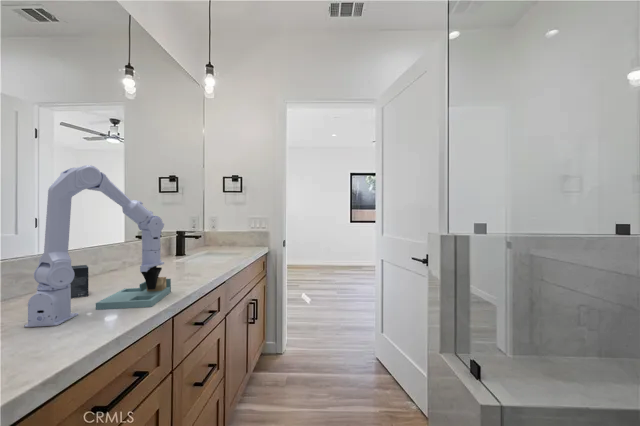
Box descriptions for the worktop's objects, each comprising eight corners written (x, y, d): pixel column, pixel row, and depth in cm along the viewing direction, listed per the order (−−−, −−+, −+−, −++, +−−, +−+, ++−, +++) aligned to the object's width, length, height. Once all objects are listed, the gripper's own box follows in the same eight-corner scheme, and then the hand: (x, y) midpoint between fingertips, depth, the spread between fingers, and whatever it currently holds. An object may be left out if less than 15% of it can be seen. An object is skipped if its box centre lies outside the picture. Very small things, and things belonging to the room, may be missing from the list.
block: (161, 290, 115) (161, 279, 115) (146, 291, 114) (146, 280, 114) (166, 287, 120) (166, 276, 120) (151, 288, 119) (151, 277, 119)
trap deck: (151, 306, 102) (151, 290, 102) (95, 309, 99) (95, 293, 99) (170, 291, 121) (170, 278, 121) (124, 293, 119) (124, 280, 119)
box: (88, 296, 116) (88, 266, 116) (68, 298, 113) (68, 268, 113) (87, 292, 122) (86, 264, 122) (68, 294, 119) (67, 265, 119)
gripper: (156, 252, 106) (156, 293, 106) (169, 247, 121) (170, 284, 121) (133, 252, 105) (133, 294, 105) (149, 248, 120) (149, 285, 120)
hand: (151, 289), depth 113 cm, fingers closed
